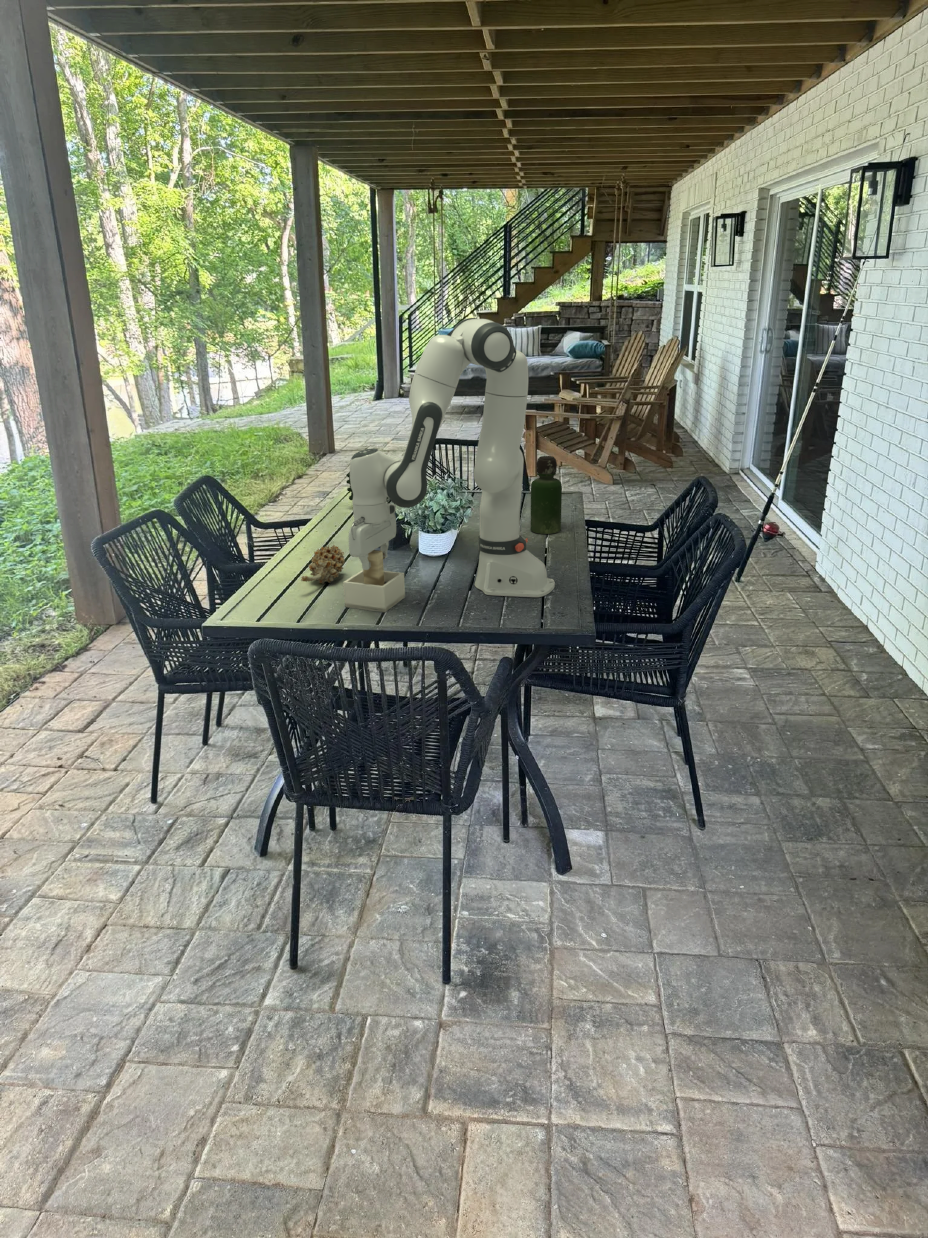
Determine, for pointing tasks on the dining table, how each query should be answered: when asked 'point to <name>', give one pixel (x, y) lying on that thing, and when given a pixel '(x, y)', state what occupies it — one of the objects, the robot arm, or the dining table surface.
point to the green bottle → (546, 498)
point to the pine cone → (326, 564)
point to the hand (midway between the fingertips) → (375, 563)
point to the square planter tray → (374, 592)
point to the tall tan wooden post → (375, 569)
